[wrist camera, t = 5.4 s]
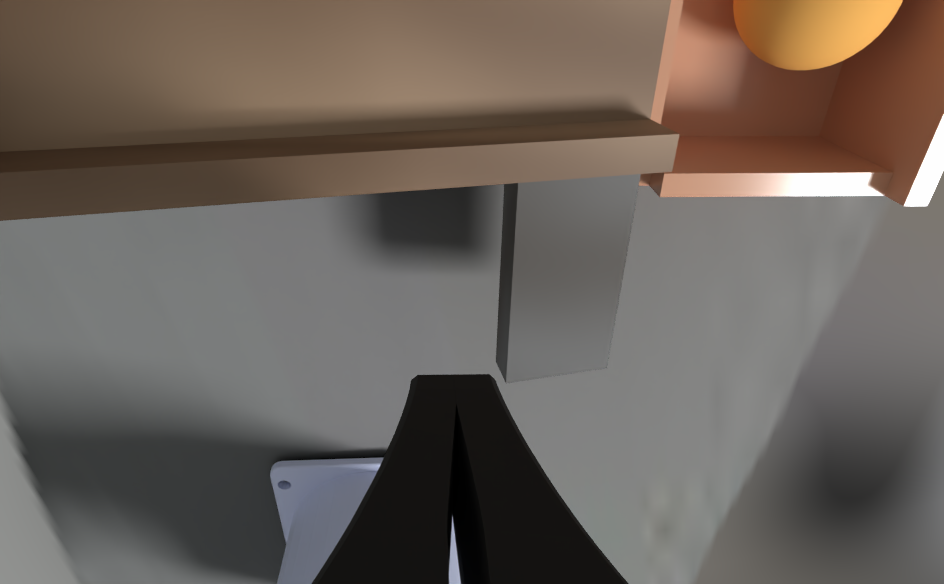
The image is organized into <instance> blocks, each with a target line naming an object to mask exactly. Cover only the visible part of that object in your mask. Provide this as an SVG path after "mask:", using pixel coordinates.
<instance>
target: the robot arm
mask: <svg viewBox="0 0 944 584" xmlns="http://www.w3.org/2000/svg"><path fill="white" fill-rule="evenodd" d="M270 478H271V482H272V486H273V490H274V495H275V499H276V503H277V507H278V511H279V516H280V520H281V524H282V528H283V532H284V537H285V541H286V548H285V552H284V556H283V560H282V565H281V569H280V573H279V577H278V581H277V584H628V582H627V581H626V580H625V579H624V578H623V577H622V576H621V574H620V573H619V572H618V571H617V570H616V568H615V567H614V566H613V565H612V564H611V562H610V561H609V560H608V559H607V557H606V556H605V555H604V554H603V553H602V551H601V550H600V549H599V548H598V546H597V545H596V544H595V543H594V541H593V540H592V539H591V537H590V536H589V535H588V534H587V532H586V531H585V530H584V528H583V527H582V526H581V524H580V523H579V521H578V520H577V519H576V517H575V516H574V515H573V513H572V512H571V510H570V509H569V508H568V506H567V505H566V503H565V502H564V501H563V499H562V498H561V496H560V495H559V493H558V492H557V490H556V489H555V487H554V486H553V484H552V483H551V481H550V480H549V478H548V477H547V475H546V474H545V472H544V471H543V469H542V467H541V466H540V464H539V463H538V461H537V459H536V458H535V456H534V454H533V453H532V451H531V450H530V448H529V446H528V445H527V443H526V441H525V440H524V438H523V436H522V434H521V433H520V431H519V429H518V427H517V425H516V423H515V421H514V420H513V418H512V416H511V414H510V412H509V410H508V408H507V406H506V404H505V402H504V400H503V398H502V395H501V393H500V391H499V388H498V386H497V383H496V381H495V379H494V378H493V377H492V376H491V375H489V374H476V375H417V376H416V377H415V378H413V379H412V380H411V384H410V390H409V394H408V397H407V401H406V404H405V407H404V410H403V413H402V416H401V419H400V421H399V424H398V426H397V429H396V431H395V434H394V436H393V438H392V441H391V443H390V445H389V447H388V449H387V452H386V454H385V456H384V457H383V458H353V459H324V460H294V461H280V462H277V463H275V464H274V465H273V466H272V469H271V472H270ZM285 481H288V482H285Z"/></svg>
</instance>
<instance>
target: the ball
mask: <svg viewBox="0 0 944 584" xmlns="http://www.w3.org/2000/svg"><path fill="white" fill-rule="evenodd" d="M902 1H903V0H733V12H734V19H735V23H736V27H737V30H738V32H739V35H740V37H741V38H742V40H743V42H744V43H745V45H746V46H747V47H748V48H749V49H750V51H751V52H752V53H754V54H755V55H756V56H757V57H758V58H760V59H761V60H763V61H765V62H766V63H769V64H771V65H773V66H776V67H779V68H783V69H788V70H812V69H819V68H823V67H827V66H831V65H833V64H836V63H839V62H841V61H843V60H845V59H847V58H849V57H851V56H853V55H854V54H856V53H857V52H859V51H861V50H862V49H863V48H865V47H866V46H867V45H869V44H870V43H871V42H872V41H873V40H874V39H875V38H877V37H878V36H879V35H880V34H881V33H882V31H883V30H884V29H885V28H886V27H887V26H888V25H889V23H890V22H891V20H892V19H893V17H894V16H895V15H896V13H897V11H898V9H899V7H900V6H901V4H902Z"/></svg>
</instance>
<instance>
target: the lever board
mask: <svg viewBox="0 0 944 584" xmlns="http://www.w3.org/2000/svg"><path fill="white" fill-rule="evenodd" d="M670 4H671V0H0V221H3V220H17V219H30V218H44V217H58V216H72V215H85V214H99V213H113V212H126V211H140V210H154V209H168V208H181V207H195V206H209V205H223V204H236V203H250V202H264V201H277V200H291V199H305V198H319V197H332V196H346V195H360V194H374V193H387V192H401V191H415V190H428V189H442V188H456V187H470V186H483V185H497V184H504V204H503V225H502V246H501V266H500V287H499V308H498V329H497V350H496V362H497V365H498V367H499V369H500V371H501V373H502V376H503V378H504V380H505V382H506V383H512V382H518V381H525V380H532V379H538V378H545V377H551V376H558V375H565V374H571V373H578V372H584V371H591V370H598V369H604V368H607V365H608V359H609V353H610V348H611V342H612V336H613V331H614V325H615V319H616V313H617V308H618V302H619V296H620V290H621V285H622V279H623V273H624V268H625V262H626V256H627V250H628V245H629V239H630V233H631V227H632V222H633V216H634V210H635V204H636V199H637V193H638V187H639V182H640V176H641V174H648V173H662V172H672V169H673V164H674V160H675V155H676V150H677V145H678V140H679V135H680V134H679V133H677V132H675V131H673V130H671V129H669V128H667V127H665V126H663V125H661V124H659V123H657V122H655V121H653V120H651V119H650V118H651V113H652V107H653V101H654V96H655V90H656V84H657V78H658V73H659V67H660V61H661V55H662V50H663V44H664V38H665V33H666V27H667V21H668V15H669V10H670Z"/></svg>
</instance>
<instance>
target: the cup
mask: <svg viewBox="0 0 944 584" xmlns="http://www.w3.org/2000/svg"><path fill="white" fill-rule="evenodd" d="M650 119H651V120H653V121H655V122H657V123H659V124H661V125H663V126H665V127H667V128H669V129H671V130H673V131H675V132H677V133H679V134H680V135H679V140H678V145H677V150H676V155H675V160H674V164H673V169H672V172H662V173H648V174H641V176H640V182H639V186H650V187H651V188H652V189H653V190H654V191H655V192H656V193H657V195H658V196H659V197H740V196H883V195H884V196H886V197H888V198H890V199H892V200H893V201H895V202H897V203H899V204H901V205H903V206H928V203H929V201H930V199H931V197H932V195H933V192H934V190H935V188H936V186H937V184H938V181H939V179H940V177H941V175H942V173H943V170H944V0H903V1H902V4H901V6H900V7H899V9H898V11H897V13H896V15H895V16H894V17H893V19H892V20H891V22H890V23H889V25H888V26H887V27H886V28H885V29H884V30H883V31H882V33H881V34H880V35H879V36H878V37H877V38H875V39H874V40H873V41H872V42H871V43H870V44H869V45H867V46H866V47H865V48H863V49H862V50H861V51H859V52H857V53H856V54H854V55H853V56H851V57H849V58H847V59H845V60H843V61H841V62H839V63H836V64H833V65H831V66H827V67H823V68H819V69H812V70H788V69H783V68H779V67H776V66H773V65H771V64H769V63H766V62H765V61H763V60H761V59H760V58H758V57H757V56H756V55H755V54H754V53H752V52H751V51H750V49H749V48H748V47H747V46H746V45H745V43H744V42H743V40H742V38H741V37H740V35H739V32H738V30H737V27H736V23H735V19H734V12H733V0H671V4H670V10H669V15H668V21H667V27H666V33H665V38H664V44H663V50H662V55H661V61H660V67H659V73H658V78H657V84H656V90H655V96H654V101H653V107H652V113H651V118H650Z"/></svg>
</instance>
